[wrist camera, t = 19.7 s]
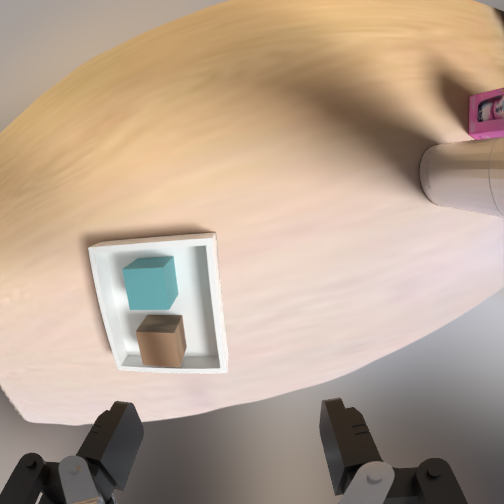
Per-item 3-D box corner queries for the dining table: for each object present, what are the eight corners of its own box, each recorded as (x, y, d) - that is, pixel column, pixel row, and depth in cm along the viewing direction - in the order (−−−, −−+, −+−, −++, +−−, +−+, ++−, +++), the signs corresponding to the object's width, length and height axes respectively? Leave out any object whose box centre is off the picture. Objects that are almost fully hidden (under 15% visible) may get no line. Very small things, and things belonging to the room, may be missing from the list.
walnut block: (182, 315, 37) (174, 333, 32) (186, 346, 38) (180, 367, 33) (147, 314, 36) (135, 331, 32) (153, 345, 38) (143, 364, 33)
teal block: (173, 256, 35) (162, 267, 30) (178, 294, 36) (169, 309, 31) (137, 258, 35) (122, 269, 30) (143, 295, 36) (130, 310, 31)
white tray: (216, 232, 35) (212, 237, 31) (228, 356, 39) (227, 372, 35) (102, 241, 35) (88, 247, 31) (127, 355, 39) (118, 369, 35)
